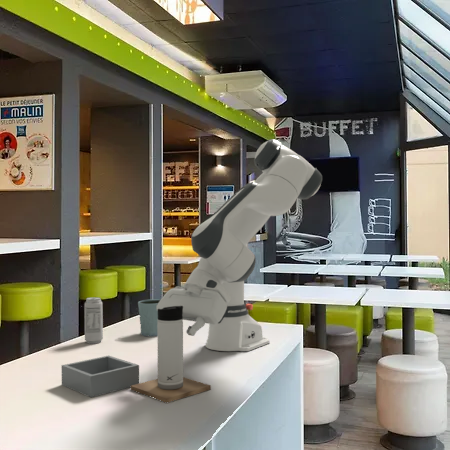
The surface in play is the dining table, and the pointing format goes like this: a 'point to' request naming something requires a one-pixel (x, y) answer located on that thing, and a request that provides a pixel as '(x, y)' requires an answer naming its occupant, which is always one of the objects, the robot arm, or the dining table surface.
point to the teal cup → (148, 317)
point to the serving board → (166, 396)
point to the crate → (100, 375)
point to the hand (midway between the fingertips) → (175, 331)
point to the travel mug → (170, 347)
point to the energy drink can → (93, 320)
